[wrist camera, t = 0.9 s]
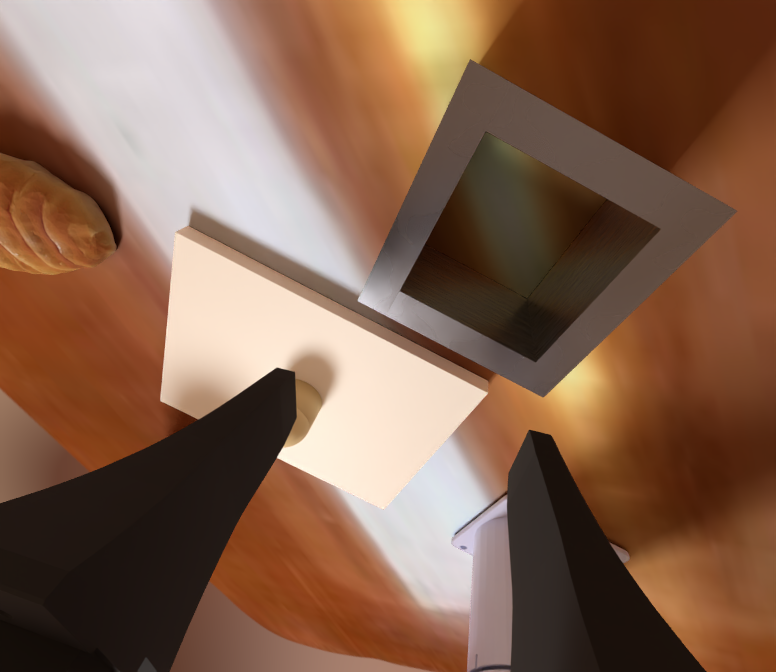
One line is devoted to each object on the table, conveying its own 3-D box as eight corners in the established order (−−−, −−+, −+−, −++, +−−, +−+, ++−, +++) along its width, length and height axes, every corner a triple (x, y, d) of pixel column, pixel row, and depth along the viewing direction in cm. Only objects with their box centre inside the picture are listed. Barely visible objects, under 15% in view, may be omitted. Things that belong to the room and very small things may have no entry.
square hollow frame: (668, 173, 14) (737, 211, 10) (533, 328, 19) (543, 397, 15) (478, 64, 14) (470, 59, 10) (388, 251, 18) (357, 301, 14)
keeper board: (488, 380, 21) (486, 444, 18) (386, 497, 29) (371, 557, 26) (188, 225, 20) (120, 258, 17) (169, 391, 28) (121, 437, 25)
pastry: (104, 162, 20) (30, 179, 17) (139, 280, 24) (85, 311, 20) (-48, 134, 21) (-143, 144, 18) (9, 251, 25) (-60, 276, 22)
